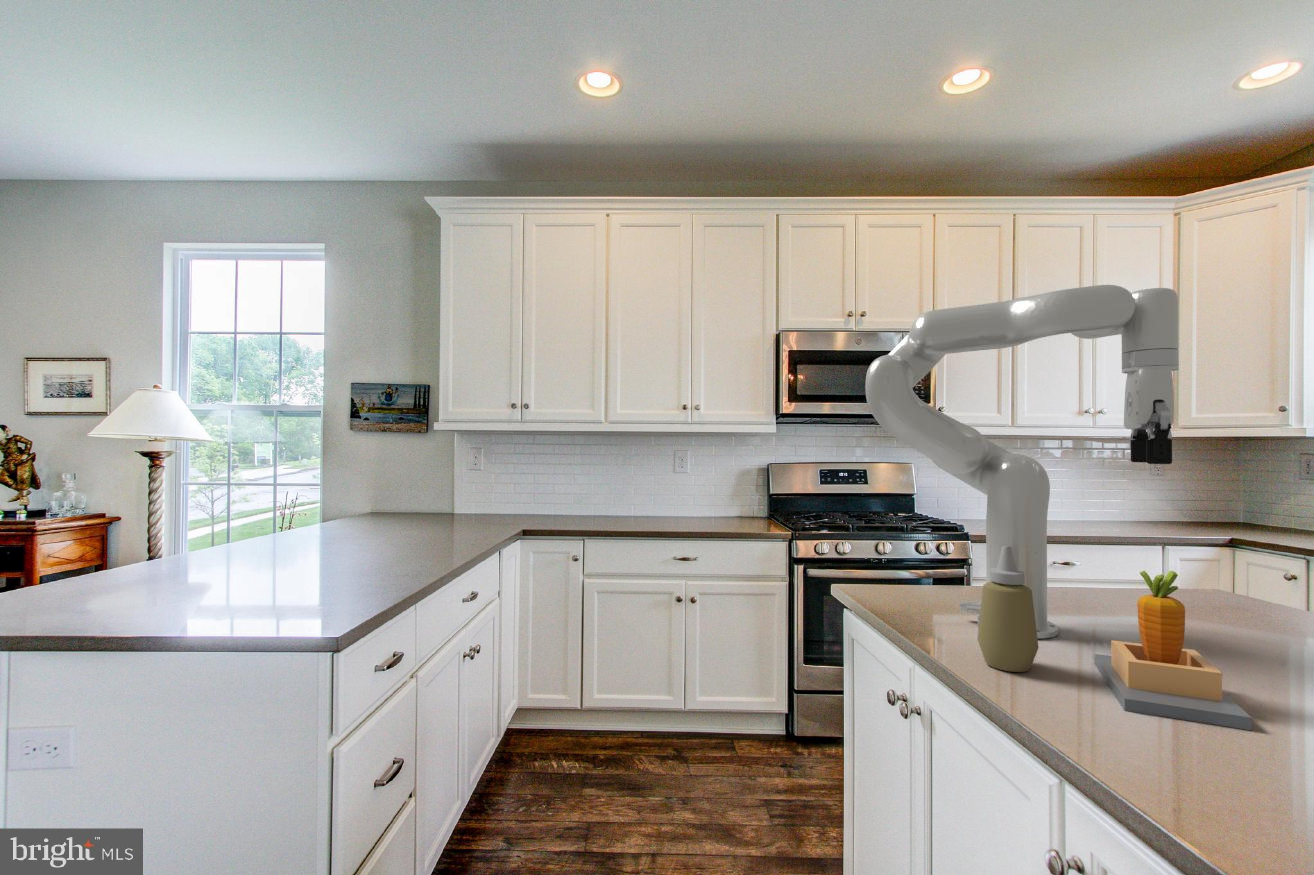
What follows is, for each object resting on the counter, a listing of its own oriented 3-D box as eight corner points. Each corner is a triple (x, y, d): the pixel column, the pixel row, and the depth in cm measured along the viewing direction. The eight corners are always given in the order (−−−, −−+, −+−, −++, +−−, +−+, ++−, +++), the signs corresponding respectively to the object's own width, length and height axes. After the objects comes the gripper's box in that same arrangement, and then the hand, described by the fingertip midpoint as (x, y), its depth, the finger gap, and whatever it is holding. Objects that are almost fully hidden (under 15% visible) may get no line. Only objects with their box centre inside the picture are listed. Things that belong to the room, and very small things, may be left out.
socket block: (1124, 710, 76) (1124, 670, 76) (1094, 663, 92) (1094, 630, 92) (1251, 730, 70) (1251, 687, 71) (1195, 676, 87) (1195, 642, 87)
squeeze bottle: (1031, 660, 93) (1030, 544, 94) (1045, 679, 86) (1045, 552, 86) (973, 654, 96) (972, 541, 96) (982, 672, 88) (981, 549, 89)
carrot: (1129, 674, 84) (1127, 566, 84) (1162, 673, 84) (1160, 565, 84) (1161, 688, 79) (1159, 573, 79) (1196, 687, 79) (1194, 572, 79)
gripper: (1110, 369, 112) (1111, 461, 112) (1135, 357, 97) (1136, 464, 97) (1161, 367, 109) (1162, 462, 109) (1196, 354, 93) (1197, 465, 93)
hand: (1150, 463), depth 103 cm, fingers open, 9 cm apart
